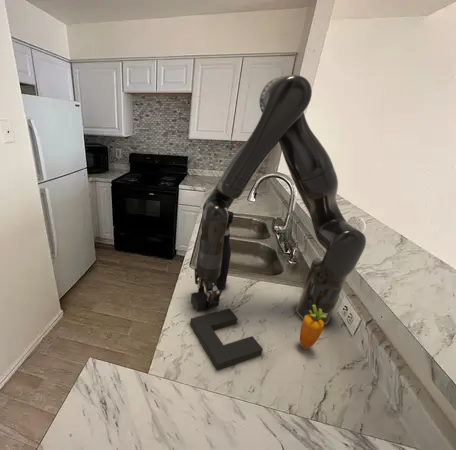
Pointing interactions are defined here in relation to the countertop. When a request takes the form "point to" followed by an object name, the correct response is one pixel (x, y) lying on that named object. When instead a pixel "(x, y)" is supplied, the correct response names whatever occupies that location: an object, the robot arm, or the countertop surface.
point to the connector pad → (200, 300)
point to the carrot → (311, 328)
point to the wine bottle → (225, 256)
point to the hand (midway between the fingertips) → (204, 302)
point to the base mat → (215, 348)
